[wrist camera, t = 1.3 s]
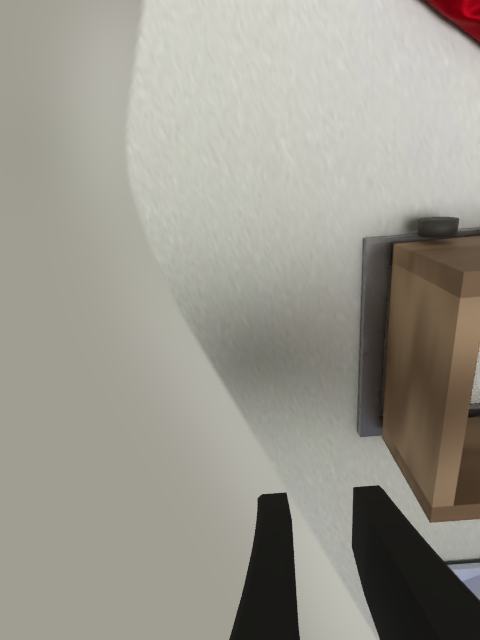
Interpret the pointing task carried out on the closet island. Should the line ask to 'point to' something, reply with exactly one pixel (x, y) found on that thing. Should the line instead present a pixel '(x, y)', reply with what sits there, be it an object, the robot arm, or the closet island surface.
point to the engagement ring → (461, 14)
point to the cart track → (381, 326)
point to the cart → (435, 369)
